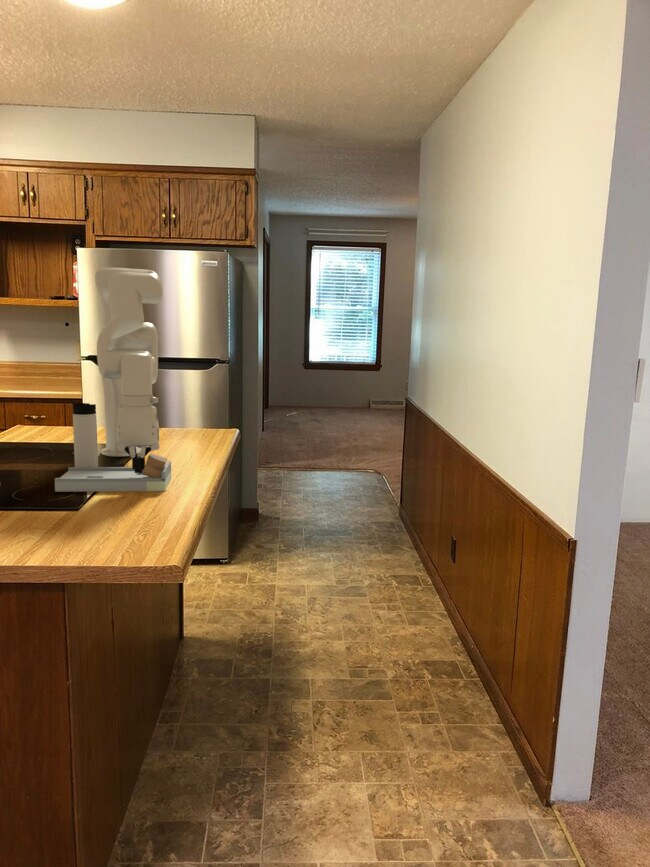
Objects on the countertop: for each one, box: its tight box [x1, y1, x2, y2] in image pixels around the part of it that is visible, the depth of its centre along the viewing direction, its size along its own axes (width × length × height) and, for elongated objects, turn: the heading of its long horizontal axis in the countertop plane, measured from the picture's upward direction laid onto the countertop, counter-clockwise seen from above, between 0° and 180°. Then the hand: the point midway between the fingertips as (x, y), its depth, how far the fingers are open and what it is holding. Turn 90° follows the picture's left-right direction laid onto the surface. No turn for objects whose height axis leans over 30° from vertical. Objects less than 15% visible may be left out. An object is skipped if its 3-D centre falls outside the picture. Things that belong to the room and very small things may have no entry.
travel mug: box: [71, 401, 99, 467], centre depth 180 cm, size 6×7×20 cm
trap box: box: [54, 460, 172, 493], centre depth 167 cm, size 13×27×5 cm, turn 96°
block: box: [142, 452, 168, 478], centre depth 165 cm, size 4×4×5 cm
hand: (138, 471), depth 164 cm, fingers closed
